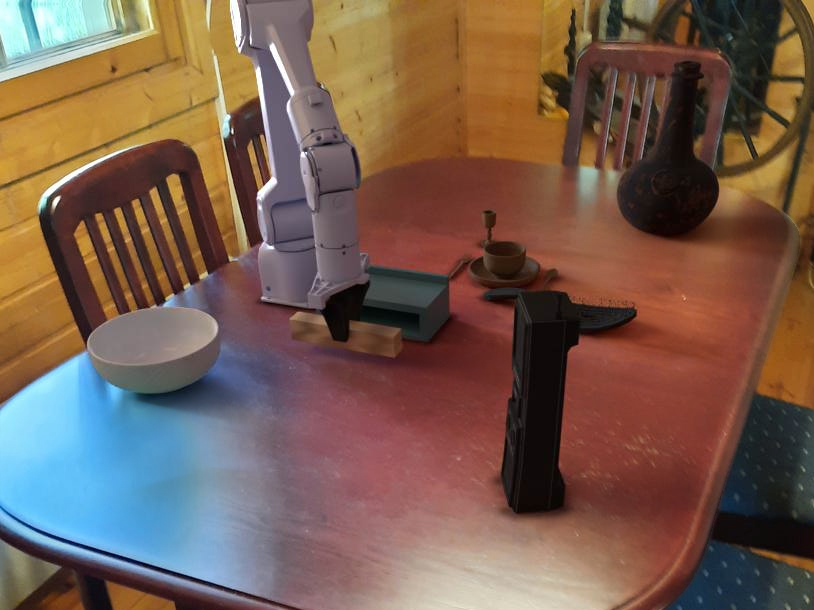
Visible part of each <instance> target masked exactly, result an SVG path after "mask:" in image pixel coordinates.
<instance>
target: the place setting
mask: <svg viewBox="0 0 814 610" xmlns="http://www.w3.org/2000/svg"><path fill="white" fill-rule="evenodd" d="M481 218H482V219H481V220H482V226H483V227H484V228H485V229H486V234H485V238H486V240H484V241H481V243H480V245H481V246H482V247H483V255H481V256H478V257H475V258H474V259H473V260H471V258H472V256H473V253H467V252H465V253H464V255H463V257H462V259H461V260H460V263H459V264H458V265H457V266H456V267H455V268H454V270H453V271H452V272H451V273H450V274H449V279H451V278H453V277H454V276H455V274H456V273H457V272H458V270H460V269H461V267H462V266H463V264H467V263H469V264H468V266H467V270H468V271H467V272H468V275H469V276H470V277H471V279H472V280H473V281H475V282H476V283H478V284H480V285H482V286H485V287H488V288H493V289H497V288H510V287H512V288H521V287H523V286H527V285H529V284H531V283H533V282H534V281H536V280H537V279H538V277H539V276H540V273H541V268H542V267H541V264H540V263H539V261H537V260H536V259H534V258H532V257H530V256H527V248H526V246H525V245H523V243H519V242H517V241H516V242H515V241H510V240H498V241H495V240H492V237H493V234H492V229H493V228H495V227H496V225H497V211H496V210H494V209H485V210H483V211H482V216H481ZM470 260H471V261H470ZM558 274H559V271H558V269H557V268H556V267H553V268H551V269H548V270H547V271H546V273H545V276H546V279H545V281H544V282H543V284H542V285H541V287H540V288H539V291H545V289H546V287H547V285H548V283H549V282H550V280H552V279H554V278H556V277H557V276H558Z"/></svg>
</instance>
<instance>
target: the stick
mask: <svg viewBox="0 0 814 610" xmlns="http://www.w3.org/2000/svg"><path fill="white" fill-rule="evenodd" d="M288 321H289V322H288V323H289V329H290V336H291V340H293V341H298V342H304V343H308V344H309V343H310V344H315V345H321V346H326V347H332V348H337V349H343V350H349V351H353V352H360V353H366V354H370V355H376V356H383V357H389V358H396V357H397V356H398V355H399V354H400V353H401V352H402V350H403V340H402V339H403V338H402V333H401V329H400V328H394V327H388V326H382V325H376V324H370V323H364V322H358V321H352V320H350V321H349V338H348V341H347V342H339V341H334V340H333V339H332V336H331V334H330V331H329V328H328V326H327V323H326V321H325V319H324V317H323V316H322V315H317V313H309V312H304V311H297V312H296V313H295V314H293V315H292V316H291V317H290V318H289V320H288Z"/></svg>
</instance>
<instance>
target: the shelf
mask: <svg viewBox="0 0 814 610" xmlns="http://www.w3.org/2000/svg"><path fill="white" fill-rule="evenodd" d="M364 273H367V274H369V280H370V287H369V289H368V291H367V293H366V296H365V299H364V302H363V306H362V311H361V316H360V322H364V323H370V324H376V325H382V326H388V327H394V328H400V329H401V333H402V339H404V340H411V341H417V342H422V343H429V342H430V340H432V338H433V337H434V335H436V333H437V332H438V331H439V330H440V329H441V328H442V326H443V325H444V324H445V323H446V322H447V321H448V319H449V318H450V317H451V316H450V311H451V310H450V309H451V308H450V307H451V306H450V278H449V276H450V274H442V273H435V272H434V273H433V272H428V271H419V270H415V269H414V270H413V269H406V268H399V267H392V266H385V265H377V264H371V263H370V268H368V269H365V271H364ZM315 310H316V311H315V312H316V315H322V314H321V312H320V310H319V309H315ZM322 316H323V315H322Z"/></svg>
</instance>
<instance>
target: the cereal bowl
mask: <svg viewBox="0 0 814 610" xmlns="http://www.w3.org/2000/svg"><path fill="white" fill-rule="evenodd" d="M221 341H222V340H221V331H220V326H219V324H218V322H217V320H216V319H215V318H214V317H213V316H212V315H210V314H208V313H206V312H205V311H202V310H199V309H195V308H190V307H185V306H156V307H147V308H142V309H137V310H132V311H130V312H126V313H123V314H119V315H117V316H115V317H113V318H111V319H109V320H107V321H105V322H104V323H102V324H101V325H99V326H98V327H96V328H95V329H94V330H93V331H92V332H91V333H90V335H89V337H88V338H87V342H86V349H87V352H88V355H89V359H90V361H91V364H92V366H93V367H94V369H95V371H96V372H97V374H98V375H99V376H100V377H101V378H102V379H103V380H104V381H106V382H107V383H108V384H110V385H111V386H113V387H115V388H118V389H119V390H123V391H127V392H130V393H131V392H132V393H136V394H137V393H139V394H167V393H171V392H174V391H178V390H180V389H182V388H185V387H187V386H190V385H192V384H194V383H195V382H197V381H199V380H200V379H202V378H203V377H205V376H206V375H207V374H208V373H209V372H210V371H211V370H212V368H214V366H215V364H216V363H217V361H218V358H219V356H220V352H221Z"/></svg>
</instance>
